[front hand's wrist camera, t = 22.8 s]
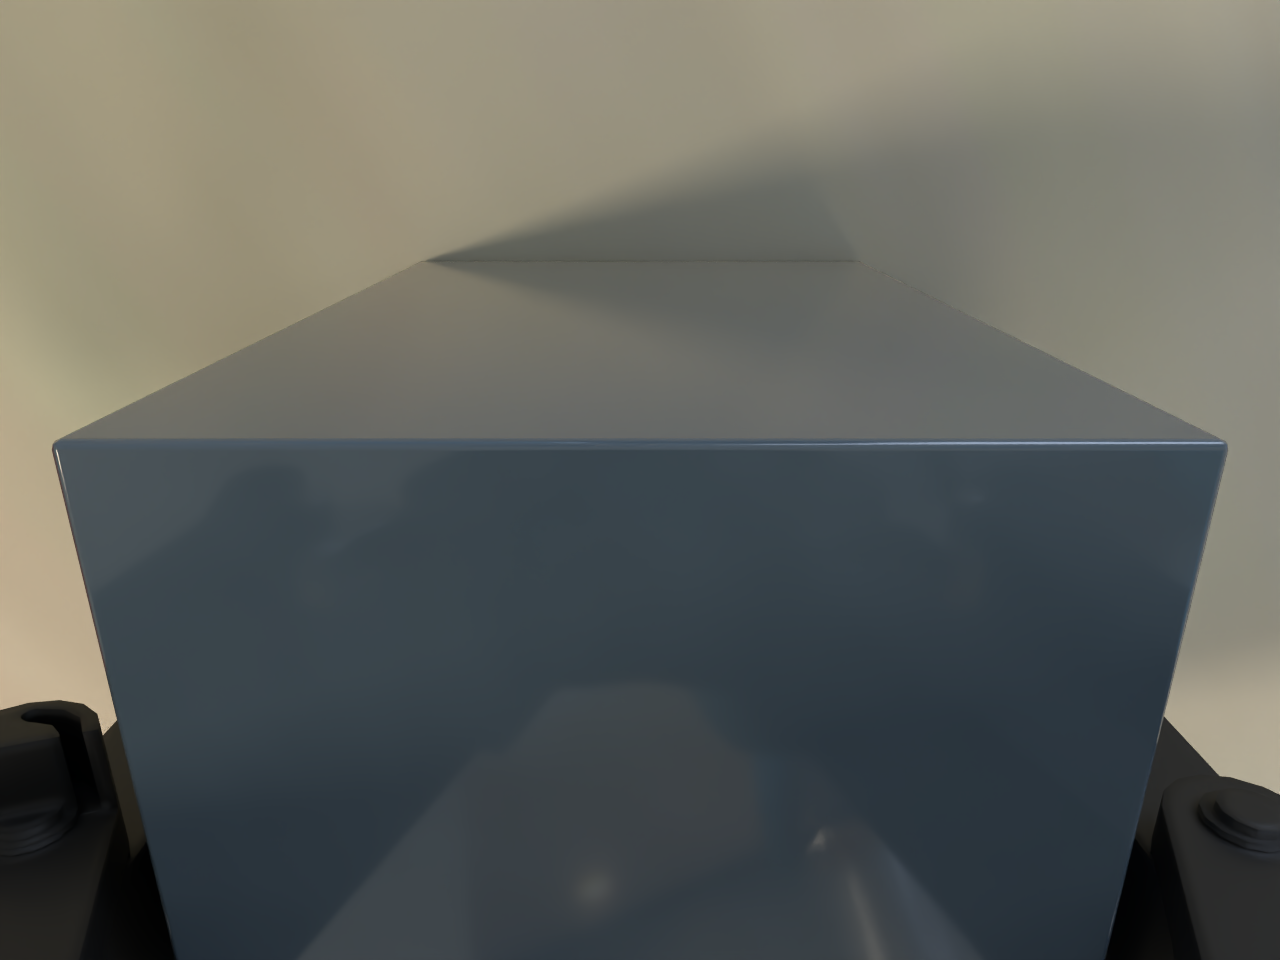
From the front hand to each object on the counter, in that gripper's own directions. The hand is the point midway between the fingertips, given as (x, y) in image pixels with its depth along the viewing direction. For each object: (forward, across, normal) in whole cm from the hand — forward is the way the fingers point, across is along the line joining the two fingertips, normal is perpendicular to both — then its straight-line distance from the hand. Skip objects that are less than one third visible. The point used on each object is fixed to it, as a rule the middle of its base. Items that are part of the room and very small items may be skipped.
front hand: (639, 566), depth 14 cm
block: (+2, 0, 0) cm, 2 cm away
